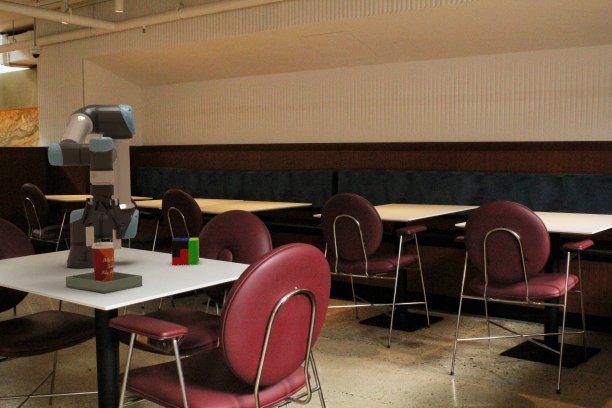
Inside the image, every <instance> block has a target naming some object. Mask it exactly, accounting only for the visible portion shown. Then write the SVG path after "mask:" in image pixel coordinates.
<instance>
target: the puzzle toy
mask: <svg viewBox="0 0 612 408" xmlns="http://www.w3.org/2000/svg"><path fill="white" fill-rule="evenodd" d="M199 241H200V238H199V237H174V238H173V239H172V240H171V265H174V266H196V265H198V264H199V262H200V242H199Z"/></svg>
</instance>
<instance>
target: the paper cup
mask: <svg viewBox="0 0 612 408" xmlns="http://www.w3.org/2000/svg"><path fill="white" fill-rule="evenodd" d="M91 248H92V250H93V263H94V267H93V272H94V274H95V281H102V282H108V281H113V272H115V270H114V266H115V250H114V249H113V241H112V242H111V241H104V242H103V241H101V242H100V243H99V242H98V243H93V244H92V247H91Z"/></svg>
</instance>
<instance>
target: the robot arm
mask: <svg viewBox="0 0 612 408" xmlns="http://www.w3.org/2000/svg"><path fill="white" fill-rule="evenodd" d="M136 134H137V124H136V118H135V114H134V109H133V107H132V106H131V105H129V104H121V103H120V104H97V103H96V104H95V103H93V104H89V105H84V106H82V107H80V108H78V109H77V110H75V111H74V112H72V113H71V114H70V116H69V117H68V119H67V121H66V129H65V131H64V133H63V136H62V138H61V140H60V142H55V143H50V144H49V145H48V150H47V158H48V162H49V164H50V165H52V166H60V167H64V166H65V167H66V166H68V167H69V166H71V167H72V166H89V181H90V182H89V183H91V184H90V186H89V187H90V189H89V191H90V196H91V197H86V198H85V205H84V208H81V209H80V208H79V209H75V210H72V211H71V213H70V218H69V225H70V232H69V233H70V248H69V252H68V254H67V255H68V257H67V259H66V267H68V268H71V269H72V268H73V269H75V268H76V269H81V268H82V269H83V268H84V269H85V268H87V269H88V268H94V263H93V250H92V248H91V247H92V244H93V243H98V242H99V243H100V242H102V240H112V242H113V249H114V251H115V250H120V249H121V250H122V239H123V240H126V239H134V238H135V237H136V236H137V231H138V223H139V214H140V212H139V209H136V205H135V204H134V203H133V202H132V197H131V196H132V195H131V169H130V168H131V166H130V165H131V164H130V160H131V159H130V142H131V141H132V140H133V136H134V135H136ZM89 135H102V136H93V137H90V138H89V141H88V143H85V141H86V138H87V137H88V136H89Z"/></svg>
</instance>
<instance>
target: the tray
mask: <svg viewBox="0 0 612 408" xmlns="http://www.w3.org/2000/svg"><path fill="white" fill-rule="evenodd" d="M138 287H143V275H142V274H141V275H140V274H135V273H134V274H131V273H127V272H126V273H125V272H119V271H118V272H117V271H113V281H108V282H102V281H95V274H94V271H91V272H86V273H81V274H73V275H69V276H65V288H68V289H69V288H70V289H75V290H82V291H88V292H94V293H100V294H110V293H114V292H119V291H124V290H129V289H134V288H138Z"/></svg>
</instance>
